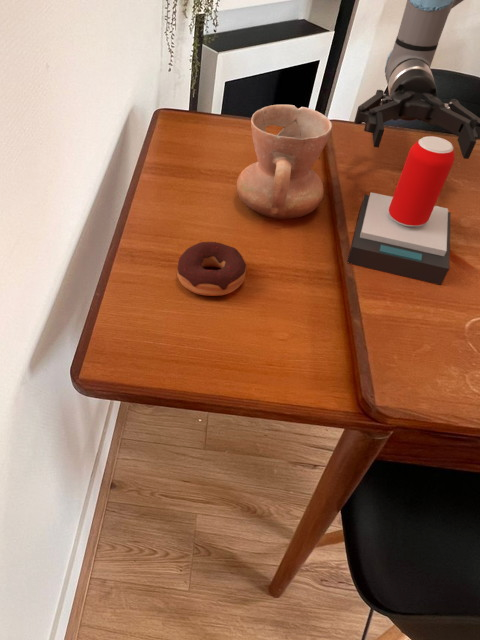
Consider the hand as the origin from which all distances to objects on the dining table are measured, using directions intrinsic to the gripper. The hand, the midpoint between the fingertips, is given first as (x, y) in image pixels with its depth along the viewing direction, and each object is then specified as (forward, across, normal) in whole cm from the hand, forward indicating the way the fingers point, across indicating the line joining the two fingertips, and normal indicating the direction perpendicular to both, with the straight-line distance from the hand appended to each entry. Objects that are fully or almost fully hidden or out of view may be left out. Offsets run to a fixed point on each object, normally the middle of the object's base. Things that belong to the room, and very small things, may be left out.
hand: (424, 144), depth 80 cm
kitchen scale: (+8, 0, -13) cm, 15 cm away
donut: (+24, +28, -13) cm, 39 cm away
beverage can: (+7, 0, -9) cm, 11 cm away
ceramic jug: (+2, +20, -13) cm, 24 cm away
